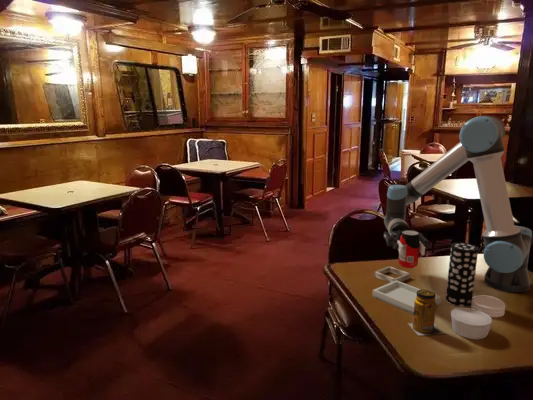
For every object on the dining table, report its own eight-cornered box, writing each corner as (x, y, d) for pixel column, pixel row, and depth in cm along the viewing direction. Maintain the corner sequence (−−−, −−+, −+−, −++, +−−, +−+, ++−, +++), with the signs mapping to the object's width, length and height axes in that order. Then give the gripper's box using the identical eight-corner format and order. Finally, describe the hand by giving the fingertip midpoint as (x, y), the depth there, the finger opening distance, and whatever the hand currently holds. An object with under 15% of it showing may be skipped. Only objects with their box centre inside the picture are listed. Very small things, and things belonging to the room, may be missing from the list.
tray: (440, 303, 142) (441, 297, 141) (417, 316, 134) (418, 309, 133) (395, 286, 156) (396, 280, 155) (372, 296, 147) (372, 290, 147)
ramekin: (481, 323, 129) (483, 308, 128) (497, 343, 118) (499, 326, 117) (444, 321, 130) (446, 306, 129) (456, 340, 120) (458, 324, 119)
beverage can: (419, 269, 139) (421, 235, 136) (399, 268, 140) (402, 234, 137) (415, 263, 145) (418, 230, 142) (397, 262, 146) (399, 229, 143)
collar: (410, 278, 163) (410, 273, 163) (394, 284, 157) (395, 279, 157) (388, 270, 171) (389, 266, 170) (373, 276, 165) (373, 271, 164)
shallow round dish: (505, 308, 139) (506, 298, 138) (503, 321, 131) (505, 311, 130) (472, 301, 144) (473, 292, 144) (469, 313, 136) (470, 303, 135)
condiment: (407, 323, 129) (410, 288, 126) (433, 322, 130) (436, 286, 127) (417, 336, 122) (421, 298, 119) (445, 334, 123) (449, 297, 120)
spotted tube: (474, 307, 139) (481, 251, 135) (448, 305, 141) (454, 249, 136) (468, 296, 147) (474, 243, 143) (443, 294, 149) (448, 241, 144)
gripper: (424, 241, 158) (442, 263, 135) (373, 239, 160) (381, 260, 138) (426, 222, 156) (444, 241, 134) (374, 220, 158) (383, 238, 136)
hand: (412, 250), depth 136 cm, fingers closed on beverage can, 6 cm apart
